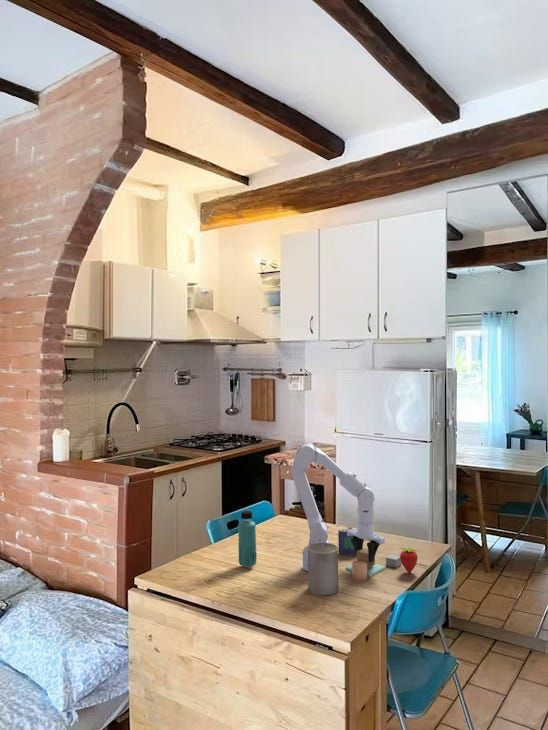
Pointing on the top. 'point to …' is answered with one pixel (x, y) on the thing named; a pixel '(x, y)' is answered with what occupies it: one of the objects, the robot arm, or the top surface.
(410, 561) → the strawberry
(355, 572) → the peach domed cylinder
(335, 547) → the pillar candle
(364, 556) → the walnut block
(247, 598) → the top surface
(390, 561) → the grey square block
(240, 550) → the beverage bottle
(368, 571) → the coaster
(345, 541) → the flask
